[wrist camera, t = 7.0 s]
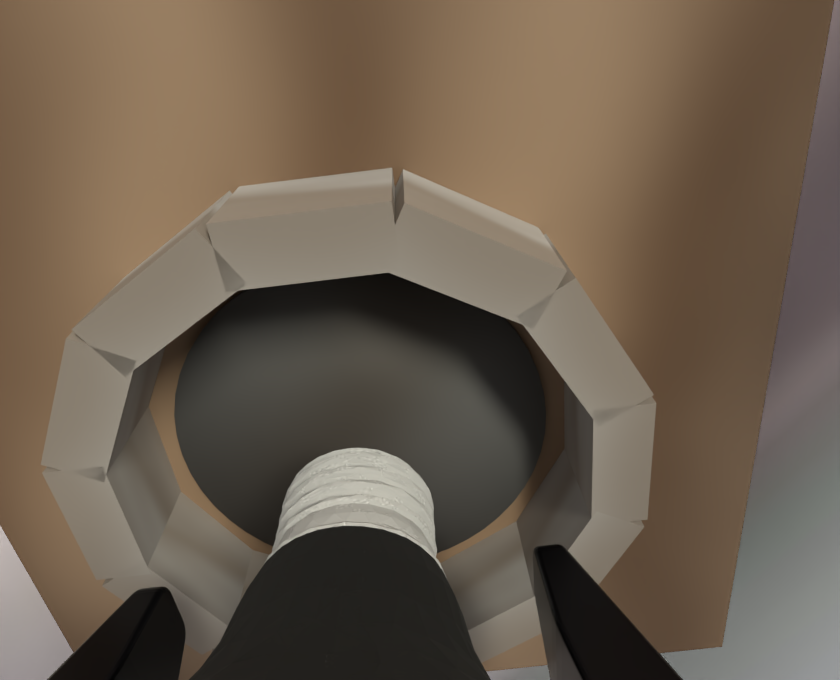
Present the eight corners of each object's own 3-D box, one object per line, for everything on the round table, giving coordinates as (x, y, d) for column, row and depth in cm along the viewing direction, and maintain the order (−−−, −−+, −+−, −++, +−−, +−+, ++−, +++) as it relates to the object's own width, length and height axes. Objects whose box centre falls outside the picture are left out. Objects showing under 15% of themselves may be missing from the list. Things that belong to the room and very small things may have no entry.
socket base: (791, -98, 10) (972, -147, 7) (696, 597, 17) (762, 725, 14) (-195, 31, 10) (-452, 39, 7) (129, 658, 18) (72, 796, 15)
